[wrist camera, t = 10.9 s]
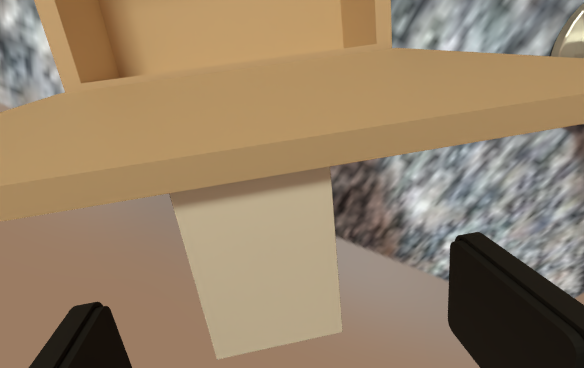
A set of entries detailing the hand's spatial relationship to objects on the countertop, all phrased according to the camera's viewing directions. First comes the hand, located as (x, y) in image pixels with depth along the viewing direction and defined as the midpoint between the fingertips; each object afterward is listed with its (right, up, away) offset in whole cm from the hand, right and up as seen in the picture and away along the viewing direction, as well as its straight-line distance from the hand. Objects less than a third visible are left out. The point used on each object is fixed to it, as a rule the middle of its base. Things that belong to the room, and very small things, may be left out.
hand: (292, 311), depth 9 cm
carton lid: (-2, +7, +4) cm, 8 cm away
